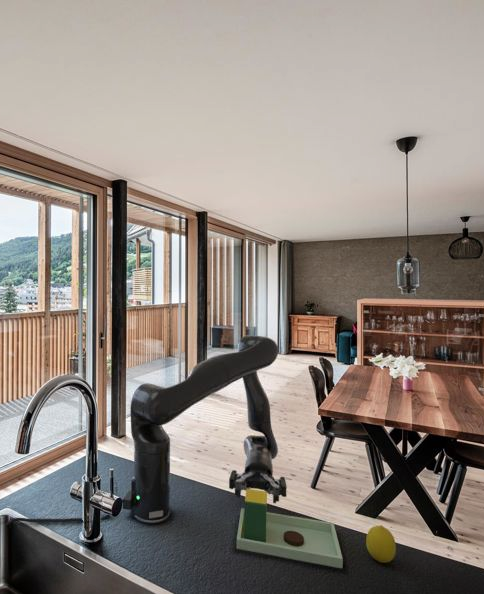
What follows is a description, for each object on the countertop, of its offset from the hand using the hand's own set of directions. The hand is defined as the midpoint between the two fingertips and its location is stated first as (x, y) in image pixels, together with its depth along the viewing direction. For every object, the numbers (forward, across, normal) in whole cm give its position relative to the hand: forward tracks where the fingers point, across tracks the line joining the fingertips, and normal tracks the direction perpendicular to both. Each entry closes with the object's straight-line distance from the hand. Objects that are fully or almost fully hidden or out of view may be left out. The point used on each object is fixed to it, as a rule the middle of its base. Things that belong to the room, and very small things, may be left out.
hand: (256, 496), depth 100 cm
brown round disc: (+4, +8, +7) cm, 12 cm away
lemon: (+5, +26, +8) cm, 28 cm away
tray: (+4, +7, +8) cm, 11 cm away
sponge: (+4, 0, +7) cm, 8 cm away
